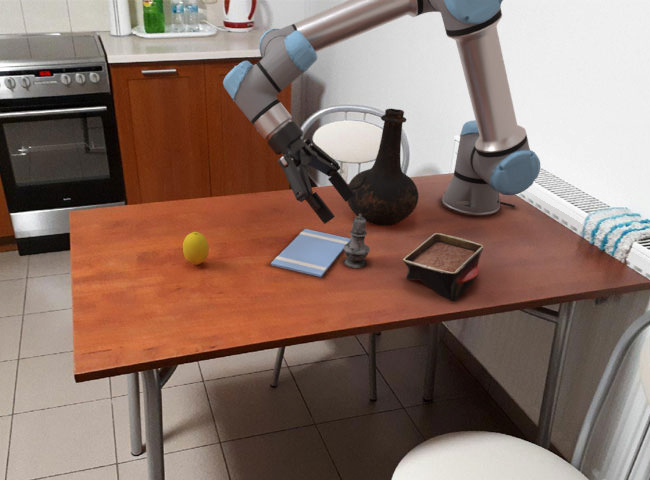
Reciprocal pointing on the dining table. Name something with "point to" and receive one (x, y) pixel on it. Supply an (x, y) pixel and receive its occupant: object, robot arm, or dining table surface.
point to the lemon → (195, 248)
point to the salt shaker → (357, 244)
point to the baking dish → (445, 264)
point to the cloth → (311, 252)
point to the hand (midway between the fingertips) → (340, 208)
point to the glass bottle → (385, 180)
